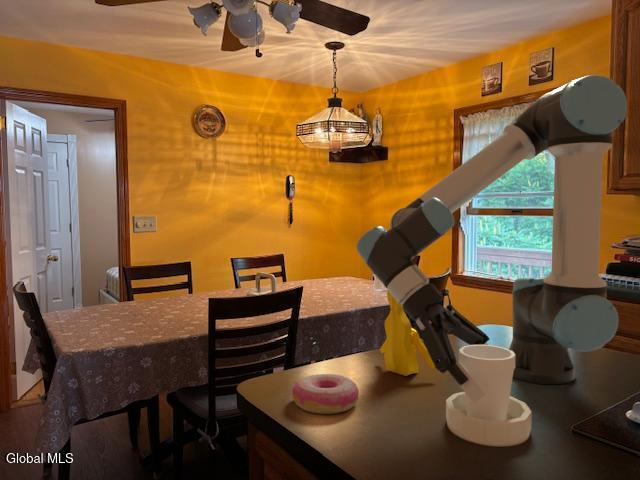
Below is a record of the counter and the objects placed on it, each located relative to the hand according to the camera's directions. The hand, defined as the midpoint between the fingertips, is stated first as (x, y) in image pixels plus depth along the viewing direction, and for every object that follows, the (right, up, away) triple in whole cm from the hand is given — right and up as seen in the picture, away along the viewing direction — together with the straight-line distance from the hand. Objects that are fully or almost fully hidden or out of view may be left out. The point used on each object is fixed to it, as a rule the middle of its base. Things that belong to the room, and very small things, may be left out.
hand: (493, 386), depth 84 cm
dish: (-1, -8, +1) cm, 8 cm away
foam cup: (-1, -7, +1) cm, 7 cm away
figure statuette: (-11, -6, +31) cm, 33 cm away
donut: (-30, -8, +13) cm, 33 cm away
